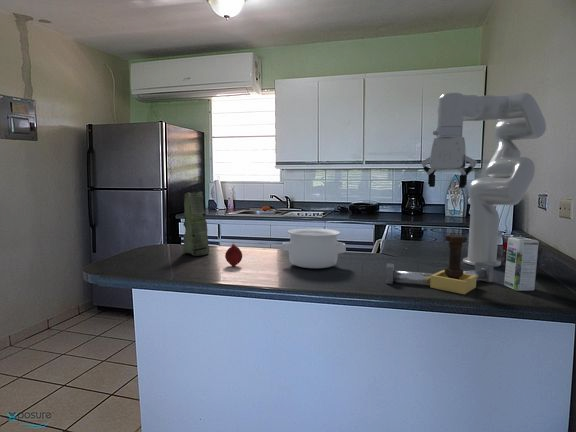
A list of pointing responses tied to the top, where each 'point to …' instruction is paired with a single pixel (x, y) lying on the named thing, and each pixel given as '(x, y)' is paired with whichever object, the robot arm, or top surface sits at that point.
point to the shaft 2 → (482, 272)
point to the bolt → (454, 255)
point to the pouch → (195, 225)
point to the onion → (233, 255)
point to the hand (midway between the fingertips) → (446, 187)
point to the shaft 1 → (406, 276)
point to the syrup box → (521, 263)
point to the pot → (313, 247)
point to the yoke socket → (453, 282)
